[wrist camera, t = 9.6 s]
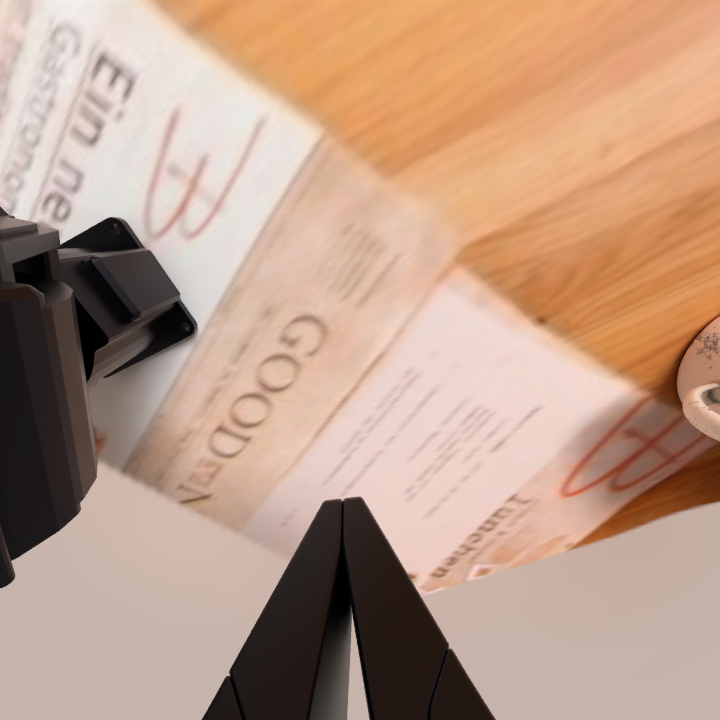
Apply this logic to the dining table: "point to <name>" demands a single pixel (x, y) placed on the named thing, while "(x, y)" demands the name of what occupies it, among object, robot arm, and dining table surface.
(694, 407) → the teacup with lid
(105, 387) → the dining table surface
